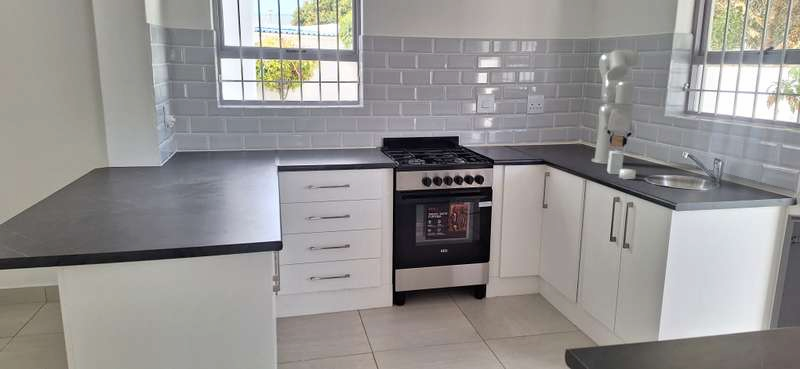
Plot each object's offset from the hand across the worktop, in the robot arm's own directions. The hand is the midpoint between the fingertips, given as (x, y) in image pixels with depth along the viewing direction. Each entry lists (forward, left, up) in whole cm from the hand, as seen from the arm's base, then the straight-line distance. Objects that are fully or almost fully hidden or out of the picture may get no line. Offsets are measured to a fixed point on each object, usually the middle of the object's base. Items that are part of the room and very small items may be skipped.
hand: (617, 144), depth 275 cm
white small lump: (+9, +8, -14) cm, 19 cm away
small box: (0, 0, -14) cm, 14 cm away
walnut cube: (0, 0, -1) cm, 1 cm away
